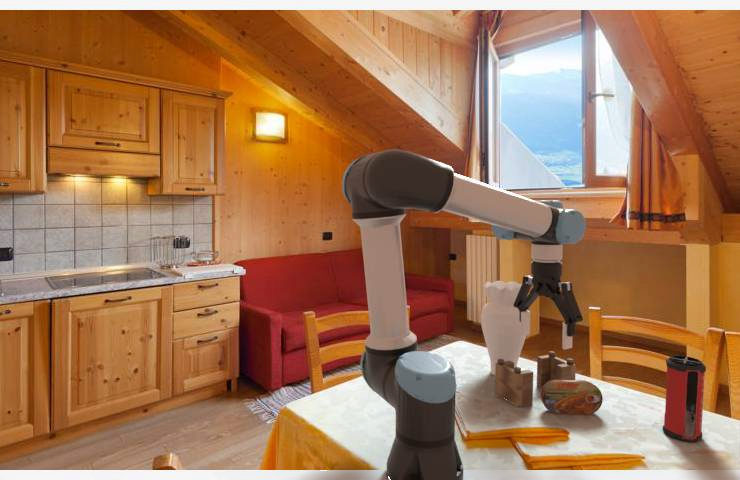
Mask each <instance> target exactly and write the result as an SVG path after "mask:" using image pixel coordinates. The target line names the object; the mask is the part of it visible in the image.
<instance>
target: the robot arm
mask: <svg viewBox="0 0 740 480" xmlns="http://www.w3.org/2000/svg"><path fill="white" fill-rule="evenodd" d="M341 190H342V194H343V196H344V198H345V200H346V201H347V202H348V204H350V209H351V218H352V221H353V222H355V224H357V226H359V228H360V235H361V236H360V238H361V249H362V257H363V258H362V259H363V266H364V267H363V269H364V278H365V287H366V288H365V289H366V298H367V307H368V318H369V319H368V320H369V327H370V328H369V329H370V334H368V336H367V337H366V338H365V340H364V346H365V350H364V351H363V352H362V355H361V357H360V362H359V364H360V365H359V366H360V373H361V376H362V378H363V380H364V381H365V383H366V384H367V386H368V387H369V388H370V390H371V391H372V392H374V393H376V394H377V395H378V396H379V397H381V398H382V399H383V400H384V401H385V402H386V403H388V404H389V405H390V406H391V407H392V408H393V409H394V412H395V436H394V438H393V442H392V445H391V448H390V452H389V454H388V458H387V461H386V475H387V474H388V476H389V477H390V479H391V480H464V465H463V461H462V458H461V456H460V452H459V449H458V446H457V442H456V438H455V437H456V436H455V435H456V432H455V430H456V393H457V391H456V390H457V380H456V371H455V368H454V366H453V364H452V363H451V362H450V361H449V360H448V359H447V358H445V357H444V356H441V355H440V354H437V353H431V352H429V351H422V350H419V348H418V339H417V334H415V333H414V332H412V331H411V330H410V326H409V313H408V303H407V301H408V300H407V291H406V289H407V288H406V280H405V269H404V268H405V267H404V257H403V256H404V255H403V245H402V234H401V233H402V232H401V222H402V221H403V219H404V218H405V217H406V216H407V212H406V210H419V211H425V212H429V213H433V214H437V213H439V212H441V211H444V212H446V213H450V214H453V215H456V216H461V217H465V218H467V219H471V220H475V221H478V222H480V223H481V222H482V223H485V224H488V225H491V232H492V233H493V235H494V236H495V238H497V239H498V240H501V241H512V240H517V241H518V240H519V241H528V242H529V241H531V242H530V243H531V251H530V253H531V254H530V258H531V259H532V261H531V262H530V274H531V275H523V276H522V283H521V284H522V285H521V284H520V285H521V288H520V290H519V293H518V295H517V297H516V300H515V302H514V304H513V306H514V307H517V308H518V310H519V311H520V314H519V316H520V317H519V320H520V322H521V335H522V336H525V335H526V336H529V335H531V310H530V307H531V306H532V305H533V304H534V303H535V301H536V300H537V299H538V298H539V296H540V297H545V298H549V299H550V300H551V301H553V303H554V304H555V307H556V308H557V309H558V311H559V313H560V315H561V316H562V318H563V320H564V322H562V337H561V338H562V339H561V340H562V342H561V343H562V347H561V349H563V350H569V349H572V348H573V337H575V335H576V323H581V322H583V321H584V318H583V315H582V312H581V310H580V307H579V304H578V301H577V299H576V296H575V294H574V291H573V283H572V282H571V281H567V282H562V280H561V277H562V275H563V262H562V261H561V260H563V245H574V244H577V243H579V242H580V241H581V240H582V239H583V237H584V236H585V234H586V233H585V232H586V228H587V222H586V218H585V216H584V215H583V213H582V212H581V211H579V210H577V209H569V208H564V203H563V202H562V201H560V200H533V199H531V198H528V197H525V196H522V195H520V194H519V195H518V194H516V193H513V192H510V191H507V190H504V189H501V188H499V187H495V186H492V185H491V184H490V185H489V184H487V183H484V182H481V181H478V180H476V179H473V178H470V177H467V176H464V175H461V174H457V173H455V171H454V169H453V168H452V166H450V165H448V164H445V163H443V162H439V161H436V160H435V159H431V158H428V157H427V156H423V155H421V154H417V153H414V152H412V151H408V150H404V149H403V150H402V149H397V148H396V149H395V148H393V149H392V148H391V149H386V150H383V151H378V152H374V153H370V154H369V153H368V154H365V155H362V156H360V157H357V159H355V160H353V161H352V162H351V163H349V165H348V166H347V168H346V169H345V171H344V173H343V176H342V180H341ZM532 286H533V287H532ZM527 310H528V311H527Z"/></svg>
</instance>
